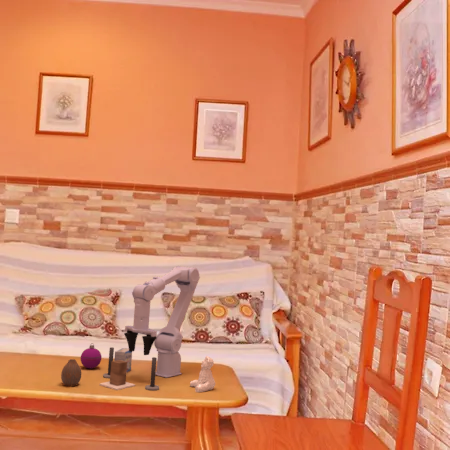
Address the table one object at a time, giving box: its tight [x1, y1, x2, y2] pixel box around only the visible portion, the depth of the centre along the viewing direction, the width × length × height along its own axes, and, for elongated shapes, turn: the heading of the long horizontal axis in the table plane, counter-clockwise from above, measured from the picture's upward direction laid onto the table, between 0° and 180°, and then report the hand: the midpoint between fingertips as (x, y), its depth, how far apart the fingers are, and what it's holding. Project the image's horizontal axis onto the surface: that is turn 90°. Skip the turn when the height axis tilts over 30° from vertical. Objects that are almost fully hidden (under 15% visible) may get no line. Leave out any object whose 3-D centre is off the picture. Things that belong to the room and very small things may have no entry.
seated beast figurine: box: [189, 355, 216, 393], centre depth 206 cm, size 10×9×12 cm
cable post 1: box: [102, 346, 115, 379], centre depth 214 cm, size 5×5×11 cm
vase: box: [60, 358, 82, 387], centre depth 199 cm, size 7×7×9 cm
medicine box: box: [113, 347, 133, 374], centre depth 224 cm, size 8×4×9 cm, turn 168°
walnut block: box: [109, 360, 128, 386], centre depth 203 cm, size 4×4×8 cm
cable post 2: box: [144, 356, 160, 392], centre depth 201 cm, size 5×5×11 cm
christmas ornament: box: [80, 343, 102, 370], centre depth 226 cm, size 8×8×10 cm
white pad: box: [99, 380, 136, 391], centre depth 202 cm, size 9×9×1 cm
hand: (139, 353), depth 211 cm, fingers open, 7 cm apart
